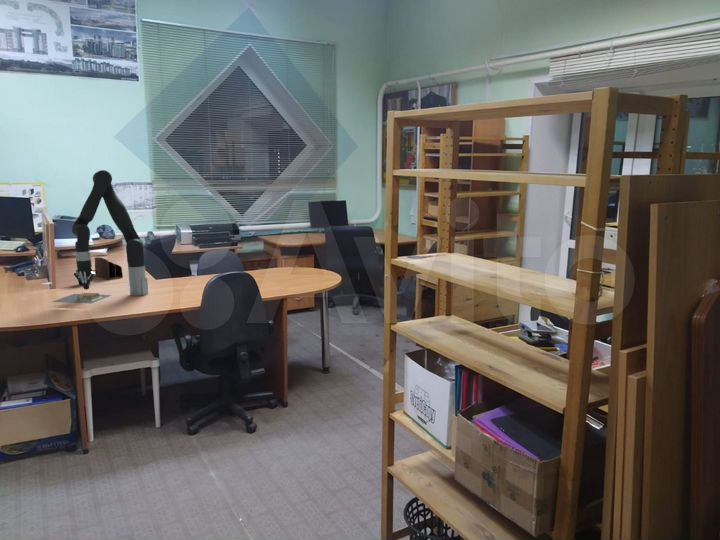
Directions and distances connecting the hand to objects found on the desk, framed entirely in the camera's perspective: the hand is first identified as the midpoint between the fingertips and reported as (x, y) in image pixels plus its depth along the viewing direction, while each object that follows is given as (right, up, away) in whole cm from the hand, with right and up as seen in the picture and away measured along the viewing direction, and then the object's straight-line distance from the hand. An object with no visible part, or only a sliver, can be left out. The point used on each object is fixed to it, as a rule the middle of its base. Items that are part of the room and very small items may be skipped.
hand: (86, 289), depth 305 cm
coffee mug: (-22, +1, +44) cm, 49 cm away
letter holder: (-19, +6, +67) cm, 70 cm away
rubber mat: (-3, -6, +2) cm, 7 cm away
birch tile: (-4, -4, +1) cm, 6 cm away
